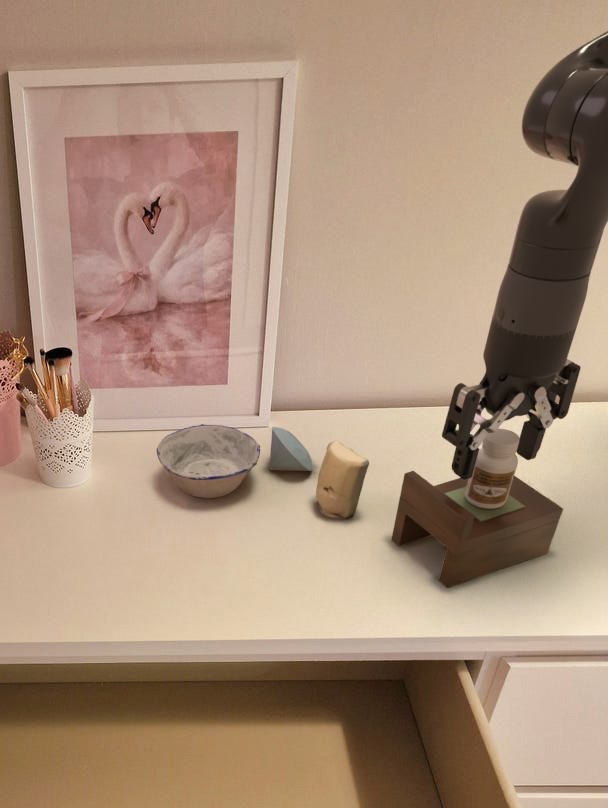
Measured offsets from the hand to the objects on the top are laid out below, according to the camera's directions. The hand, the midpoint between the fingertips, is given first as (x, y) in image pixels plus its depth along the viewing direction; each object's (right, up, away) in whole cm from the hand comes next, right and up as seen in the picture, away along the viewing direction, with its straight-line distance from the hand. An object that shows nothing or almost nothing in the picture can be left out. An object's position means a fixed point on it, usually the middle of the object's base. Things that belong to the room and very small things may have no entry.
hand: (493, 465), depth 93 cm
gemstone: (-18, +4, +21) cm, 28 cm away
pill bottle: (0, -3, +3) cm, 4 cm away
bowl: (-29, +2, +19) cm, 35 cm away
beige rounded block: (-13, -3, +14) cm, 19 cm away
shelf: (0, -8, +7) cm, 10 cm away
